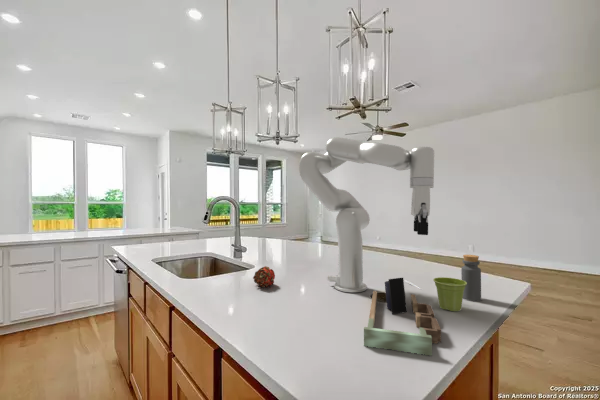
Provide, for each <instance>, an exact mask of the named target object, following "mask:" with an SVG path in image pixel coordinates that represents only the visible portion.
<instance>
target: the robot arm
mask: <svg viewBox="0 0 600 400" xmlns="http://www.w3.org/2000/svg"><path fill="white" fill-rule="evenodd" d="M325 151H326V153H324V154H322V153H320V152H315V151H309V152H305V153H304V154H303V155H302V156H301V157H300V160H299V161H298V171H299V176H300V178H301V180H302V182H303V183H304V184H305V185H306V187H307V188H308V189H309V190H310V191H311V192H312V194H313V195H314V196H315V197H316V198H317V200H319V202H320V203H321V204H322V205H323V207H324V208H325V210H328V211H329V212H330V213H331V212H333V213H335V212H338V213H337V216H336V218H335V219H336V220H335V226H336V233H337V248H338V249H337V260H338V261H337V262H338V264H337V265H338V267H337V270H338V271H337V272H338V274H337V275H335V276H333V275H327V281H329V282H331V283H334V288H335V290H337V291H340V292H343V293H344V292H345V293H352V294H353V293H354V294H355V293H361V292H364V291H365V292H366V290H367V289H368V285H367V284H366V283H364V281H363V278H364V277H363V275H364V274H363V273H364V270H363V268H364V267H363V263H364V261H363V259H364V257H363V256H364V255H363V237H362V230H364V229H366V228H367V227H368V226H369V224H370V219H371V218H370V215H369V213H368V211H367V210H366V209H365V208H364V206H363V205H362V204H361V203H360V202H359V201H358V200H357V199H356V198H355V197H354V196H353V195H352V194H351V193H350V192H349V191H347V190H344V189H339V188H337V187H336V186H334V184H332V182H331V181H330V180H329V179H328V178H327V176H325V175H324V174H328V173H330V172H332V171H333V170H335V169H337V168H339V166H341V165H343V164H345V163H346V162H352V163H358V164H372V165H378V166H381V167H382V166H383V167H387V168H391V169H394V170H396V171H407V170H409V188H410V189H412V192H411V207H410V215H411V216H412V217H414V218H413V219H414V220H413V232H417V233H416V234H417V235H421V236H428V235H429V216H430V211H431V188H432V189H433V188H434V182H435V181H434V180H435V179H434V177H435V176H434V175H435V149H434V148H433V147H430V146H419V147H417V146H416V147H413V148H412V149H411V150H408V149H404V148H403V147H401V146H399V145H396V144H395V145H393V144H389V143H382V142H373V141H365V140H364V141H363V140H358V139H351V138H347V137H340V136H336V137H331V138H330V139H329V140H328V141H327V142H326V145H325Z"/></svg>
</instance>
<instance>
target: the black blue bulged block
mask: <svg viewBox="0 0 600 400" xmlns="http://www.w3.org/2000/svg"><path fill="white" fill-rule="evenodd" d="M404 280H405V279H404V277H396V278H395V277H394V278H388V281H384V289H385V290H384V291H385V300H386V308H387V309H388V310H391V314H392V315H398V314H399V315H400V314H404V313H407V312H408V310H407V300H406V291H405V281H404Z"/></svg>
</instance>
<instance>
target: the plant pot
mask: <svg viewBox="0 0 600 400" xmlns="http://www.w3.org/2000/svg"><path fill="white" fill-rule="evenodd" d="M433 282H434V285H435V287H436V293H437V298H438V305H439V308H440V309H442V310H448V311H449V312H460V311H461V310H462V307H463V300H464V299H463V292H464V289H465V285H467V283H466V282H465V281H463V280H462V279H459V278H455V277H447V276H446V277H444V276H443V277H442V276H440V277H434V278H433Z"/></svg>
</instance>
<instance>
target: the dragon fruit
mask: <svg viewBox="0 0 600 400" xmlns="http://www.w3.org/2000/svg"><path fill="white" fill-rule="evenodd" d="M275 278H276V275H275V271H274V270H273V268H270V267H269V266H266V265H265V266H262V267H260V268H259V269H258V270H256V271H255V272H254V276H253V277H252V279H253V282H254V284H257V286H259V285H260V286H259V287H262V288H264V287H266V288H267V287H268V286H273V285H274V283H275Z"/></svg>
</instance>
